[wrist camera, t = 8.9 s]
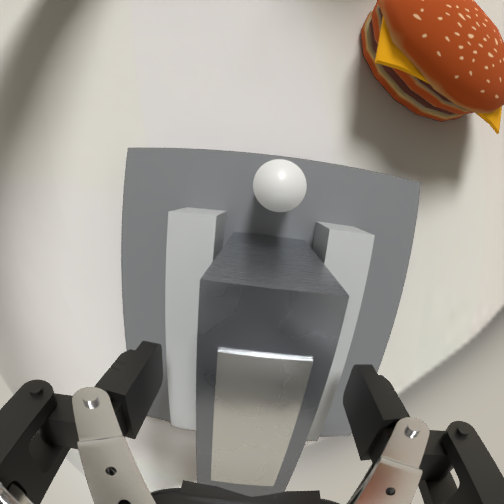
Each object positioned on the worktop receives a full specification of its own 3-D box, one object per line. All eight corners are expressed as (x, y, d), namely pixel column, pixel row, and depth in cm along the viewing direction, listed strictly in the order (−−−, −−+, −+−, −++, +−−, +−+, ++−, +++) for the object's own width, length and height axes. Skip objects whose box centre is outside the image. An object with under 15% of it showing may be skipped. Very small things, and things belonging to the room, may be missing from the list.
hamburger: (359, -9, 12) (388, -64, 6) (468, 46, 12) (517, 18, 6) (345, 92, 14) (390, 42, 7) (469, 148, 14) (536, 140, 8)
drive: (234, 231, 14) (199, 280, 6) (304, 239, 14) (350, 297, 6) (220, 390, 16) (197, 495, 8) (275, 396, 16) (279, 504, 8)
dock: (139, 151, 15) (81, 135, 9) (408, 182, 15) (470, 182, 9) (142, 400, 19) (114, 453, 13) (346, 422, 19) (363, 479, 13)
